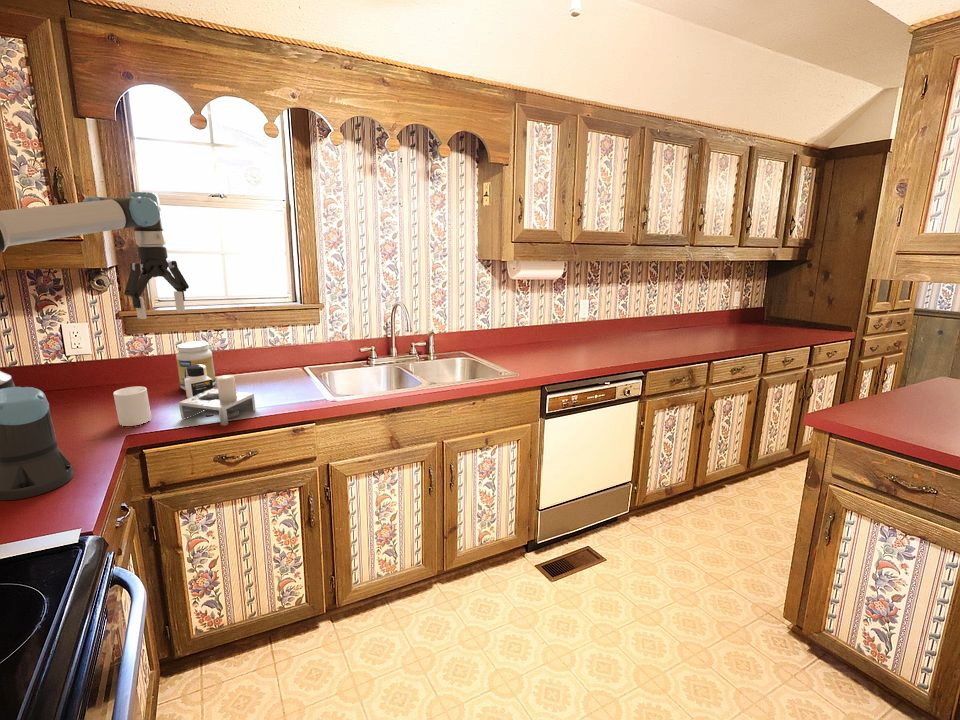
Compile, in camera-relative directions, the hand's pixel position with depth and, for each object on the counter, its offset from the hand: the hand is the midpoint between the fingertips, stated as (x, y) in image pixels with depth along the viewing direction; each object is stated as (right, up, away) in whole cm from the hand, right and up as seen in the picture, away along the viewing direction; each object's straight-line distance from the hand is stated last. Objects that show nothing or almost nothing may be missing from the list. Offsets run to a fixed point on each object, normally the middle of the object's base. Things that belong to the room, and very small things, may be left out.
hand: (162, 315), depth 156 cm
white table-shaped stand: (+13, -32, +9) cm, 36 cm away
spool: (+18, -33, +7) cm, 38 cm away
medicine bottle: (-2, -28, +25) cm, 38 cm away
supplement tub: (-9, -25, +36) cm, 45 cm away
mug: (-11, -34, +3) cm, 36 cm away
